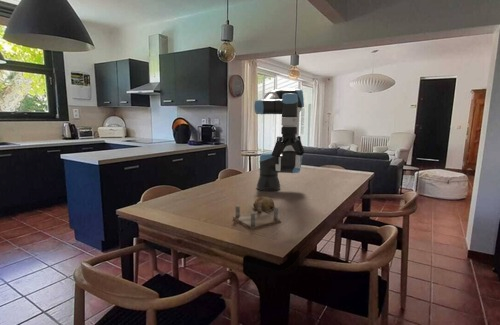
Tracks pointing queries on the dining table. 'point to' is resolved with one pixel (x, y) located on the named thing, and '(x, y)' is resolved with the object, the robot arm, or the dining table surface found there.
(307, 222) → the dining table surface
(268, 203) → the bread roll
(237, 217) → the trivet
